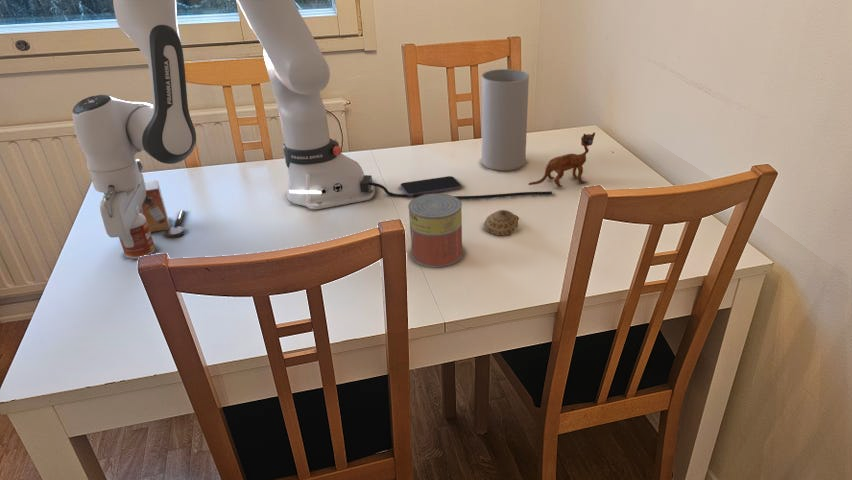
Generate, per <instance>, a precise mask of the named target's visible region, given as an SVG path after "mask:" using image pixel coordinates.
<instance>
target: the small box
mask: <svg viewBox="0 0 852 480" xmlns="http://www.w3.org/2000/svg"><path fill="white" fill-rule="evenodd" d="M144 182H145V187H146V198H145V200H144V202H143V204H142V209H143V215H144V216H145V218H146V220H147V223H148V226H149V229H150V233H154V232H160V231H166V230H167V229H169V228H171V227H170V226H171V225H170V221H169V220H170V219H169V216H168V212H167V209H166V205H165V201H164V197H163V193H162V190H161V186H160V184H159V180H158V179H155V180H150V181H144Z"/></svg>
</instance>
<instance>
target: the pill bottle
mask: <svg viewBox="0 0 852 480" xmlns="http://www.w3.org/2000/svg"><path fill="white" fill-rule="evenodd" d="M134 210H135V213H136V215H137V216H136V219H135V221H134V223H133V225H132V227H131V229H130V234H131V236H132V237H134V241H135V244H134V246H133V247H130V248H126V247H125V246H124V243H123V241H122V240H121V239H120V238H119V237H118V239H119V242H120V246H121V248H122V251H123V254H124V256H125V257H126V258H128V259H131V260H139V259H140V258H139V257H140V256H144V255H149V254H150V255H152V254H153V253H154V252H155V250H156V246H155V243H154V240H153V237H152V232H150V229H149V226H148V223H147V220H146V218H145V216H144V215H143V214H141V213H139V212H140V211H139V208H138V205H136V207H135V209H134ZM150 255H149V256H150ZM138 258H139V259H138Z"/></svg>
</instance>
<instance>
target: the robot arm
mask: <svg viewBox="0 0 852 480" xmlns="http://www.w3.org/2000/svg"><path fill="white" fill-rule="evenodd" d="M236 2H237V3H238V5H239V7H240V10H241V12H242V13H243V16H244V17H245V19H246V21H247V23H248V25H249V27H250V28H251V30H252V32H253V33H254V34H255V37H256V38H257V39H258V41H259V43H260V45H261V46H262V48H263V59H264V63H265V66H266V70H267V74H268V75H267V76H268V79H269V82H270V87H271V90H272V93H273V97H274V100H275V104H276V107H277V110H278V115H279V120H280V127H281V131H282V137H283V148H282V151H283V157H284V158H283V159H284V162H285V165H286V167H287V191H286V199H287V200H288V201H289V202H291V203H292V204H295V205H298V206H302V207H306V208H308V209H310V210H315V211H316V210H321V209H327V208H333V207H337V206H343V205H349V204H354V203H359V202H365V201H370V200H371V199H372V198H373V197H374V196H375V194H376V187H377V188H379V189H382V190H383V191H384V193H385V194H386V195H389V196H391V197H398V198H410V197H412V198H413V197H414V198H416V197H418V196H421V195H425V194H414V195H413V196H408V195H407V194H406V193H399V194H398V193H393V192H391V191H389V190H388V189H387V187H385V185H383V184H380V183H376V182H374V181H373V176H372V175H371V174H368V175H367V174H365V173H364V170H363V168H362V166H361V165H360V163H358V161H356V160H354V159H353V158H351V157H348V156H347V155H345V154H343V153H342V147H341V146H340V145H339V142H338V140H337V138H334V139H333V138H330V130H329V123H328V122H329V121H328V115H327V109H326V107H325V106H326V105H325V104H324V101H323V98H322V94H321V92H322V91H324V89H326V88H327V85H328V83H329V82H330V78H331V72H330V71H331V70H330V66H329V64H328V62H327V60H326V59H325V58H326V57H324V55H323V53H322V51H321V49H320V47H319V45H318V43H317V41H316V39H315V38H314V36H313V34H312V32H311V30H310V28H309V26H308V24H307V23H306V21H305V20H304V18H303V16H302V15H301V13H300V11H299V9H298V7H297V5H296V3H295V1H294V0H236ZM112 4H113V5H112V6H113V11H114V15H115V20H116V23H117V25H118V27H119V29H120V30H121V31H122V32H123V33H124V35H126V36H127V37H128V38H129V39H130V40H131V41H132V43H134V44H135V46H136V47H137V49H139V50H140V52H141V54H142V55H143V56H144V59H145V60H146V63H147V66H148V70H149V78H150V89H151V99H152V100H151V101H152V104H151V103H148V102H142V101H125V100H121V99H117V98H115V97H112V96H111V95H108V94H96V95H91V96H88V97H86V98H83V99H81V100H79V101H78V102H77V103H76V104H75V105H74V106H73V108H72V112H71V117H72V122H73V128H74V132H75V136H76V139H77V141H78V145H79V148H80V150H81V151H82V152H83V154H84V156H85V158H86V167H87V170H88V173H89V177H90V178H91V182H92V185H93V188H94V189H95V191H96V192H98V193H103V196H102V199H101V200H100V203H99V210H100V215H101V219H102V223H103V226H104V229H105V232H106V234H107V236H108V237H109V238H112V239H113V238H118V239H119V238H120V239H121V240H122V241H123V243H124V246H125V247H126V248H130V247H133V246H134V244H135V241H134V237H132V236H131V234H130V229H131V227H132V225H133V223H134V221H135V219H136V216H137V215H136V213H135V210H134V209H135V207H136V205H138V208H139V211H140V212H139V213H141V214H143V209H142V204H143V202H144V200H145V198H146V187H145V182H146V181H145V179H144V174H143V169H144V168H143V167H144V166H143V163H142V160H141V159H139V158H136V154H137V153H141V152H144V153H145V154H147V155H149V156H150V157H152V158H153V159H154V160H156V161H158V162H159V163H162V164H167V165H174V164H177V163H178V164H179V163H180V162H182V161H184V160H186V159H187V158H188V157H189V156H190V155H191V154H192V152H193V151H194V149H195V147H196V144H197V132H196V131H197V130H196V128H195V126H194V123H193V121H192V118H191V115H190V111H189V102H188V92H187V91H188V90H187V81H186V70H185V69H186V68H185V67H186V66H185V57H184V49H183V45H182V39H181V38H180V32H179V26H178V17H177V0H112ZM540 195H542V196H543V195H553V191H523V192H521V191H520V192H510V193H508V192H507V193H495V194H482V195H453V196H454V197H456V198H458V199H459V200H474V199H475V200H476V199H492V198H504V197H506V198H507V197H517V196H518V197H519V196H540ZM120 239H119V240H120Z"/></svg>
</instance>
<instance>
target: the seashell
mask: <svg viewBox="0 0 852 480" xmlns="http://www.w3.org/2000/svg"><path fill="white" fill-rule="evenodd" d="M519 220H520V217H519V216H518V215H516V214H515V213H513V212H512V211H509V210H507V209H500V210H497V211H495V212H493V213H490V214H489V215H488V216H486V218H485V220H484V224H483V227H484V229H485V231H486V232H488V233H489V234H491V235H494V236H506V235H509V234H512V233H514V232H515V231H516V230H517V229H518V228H519Z"/></svg>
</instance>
